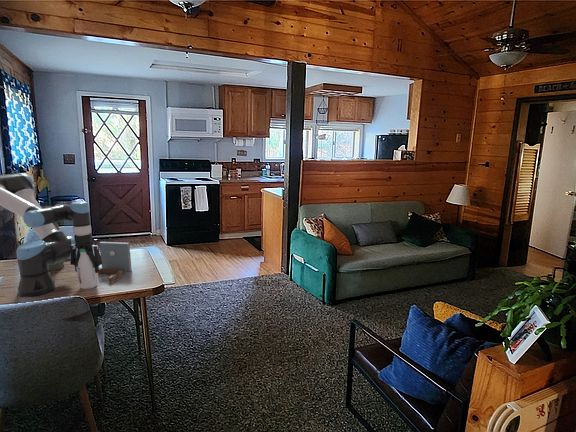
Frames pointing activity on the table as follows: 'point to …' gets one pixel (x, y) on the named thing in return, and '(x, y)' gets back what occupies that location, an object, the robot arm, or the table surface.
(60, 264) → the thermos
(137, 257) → the table surface
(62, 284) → the table surface
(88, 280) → the milk bottle
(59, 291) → the table surface
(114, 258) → the wall panel
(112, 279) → the notch cradle
